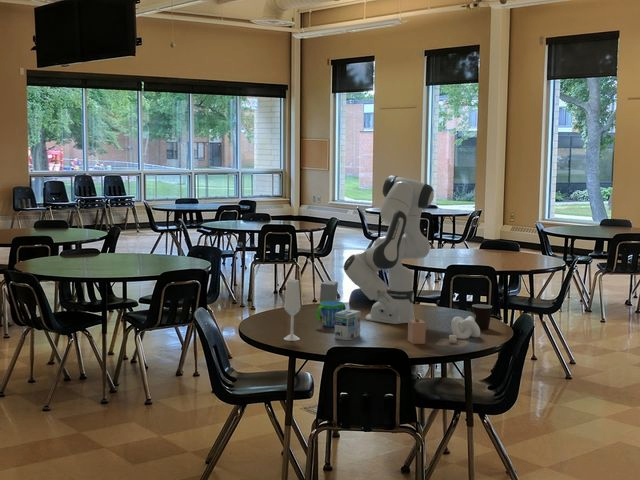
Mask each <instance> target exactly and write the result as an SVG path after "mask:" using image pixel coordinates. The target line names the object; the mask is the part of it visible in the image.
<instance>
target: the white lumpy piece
mask: <svg viewBox="0 0 640 480" xmlns="http://www.w3.org/2000/svg"><path fill="white" fill-rule="evenodd" d="M450 328H451V332H452V335H457V339H462V340H463V339H469V338H479V337H480V334H481V330H480V328H479V326H478V325H477V323H476V322H475V319H474V318H473V315H472V316H471V315H469V316H467V317H466V318H465V319H464V318H463V317H461V316H454V317H453V319H452V320H451V323H450Z"/></svg>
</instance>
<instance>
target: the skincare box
mask: <svg viewBox="0 0 640 480" xmlns="http://www.w3.org/2000/svg"><path fill="white" fill-rule="evenodd" d="M338 284H339V282H338V281H336V280H335V281H334V280H324V281H323V282H321V283H320V293H319V294H320V295H319V303H320V302H323V301H338V288H339V287H338V286H339V285H338ZM320 318H322V316H321V310H320Z"/></svg>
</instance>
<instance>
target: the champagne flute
mask: <svg viewBox="0 0 640 480" xmlns="http://www.w3.org/2000/svg"><path fill="white" fill-rule="evenodd" d="M300 292H301V291H300V280H298V279H287V280H286V289H285V296H284V306H283V307H284V311H285V312H286V313H287V314H288V315H290V334H288V335H286V336H285V337H284V338H283V339H284V340H285V341H288V342H289V341H293V342H294V341H299V340H300V339H301V338H300V337H298V336H297V335H296V334H294V323H295V322H294V320H295V319H294V318H295V317H294V316H295V315H297V314H298V313H299V312H300V310H301V306H302V305H301V293H300Z"/></svg>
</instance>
